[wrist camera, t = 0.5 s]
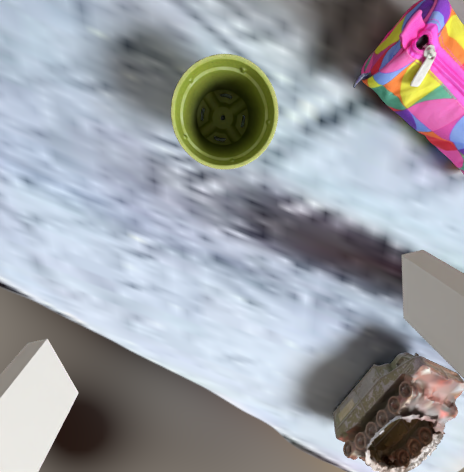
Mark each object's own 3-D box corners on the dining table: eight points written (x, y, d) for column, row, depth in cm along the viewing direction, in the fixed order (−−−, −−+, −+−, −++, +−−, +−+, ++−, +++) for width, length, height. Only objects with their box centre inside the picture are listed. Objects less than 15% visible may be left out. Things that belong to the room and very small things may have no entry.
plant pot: (256, 165, 36) (268, 175, 28) (178, 155, 35) (167, 162, 27) (269, 80, 33) (287, 63, 25) (184, 66, 32) (174, 44, 24)
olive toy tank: (302, 401, 50) (322, 462, 40) (384, 316, 45) (427, 363, 35) (359, 429, 53) (389, 492, 43) (441, 352, 48) (495, 404, 38)
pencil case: (333, 85, 33) (374, 69, 25) (391, 4, 31) (457, -44, 23) (456, 190, 39) (525, 207, 30) (514, 127, 36) (606, 126, 28)
